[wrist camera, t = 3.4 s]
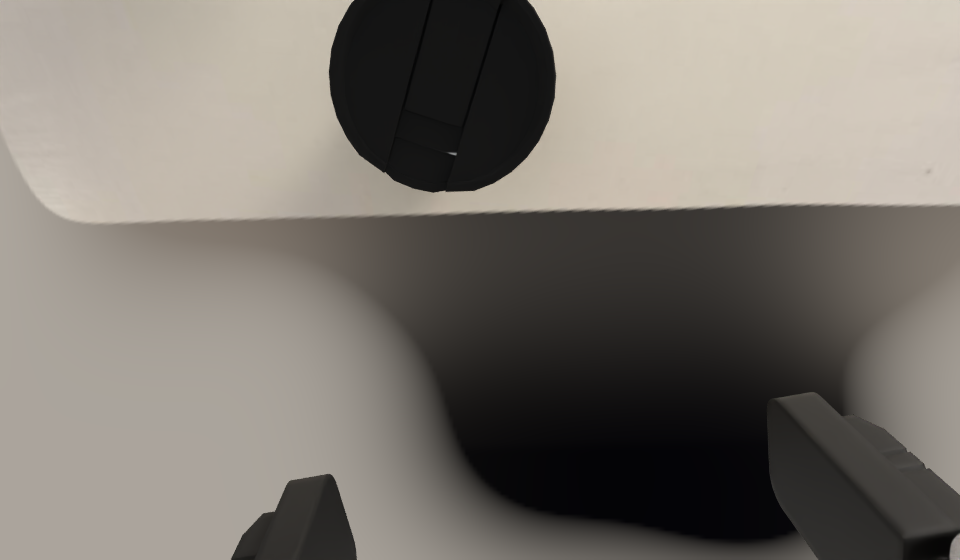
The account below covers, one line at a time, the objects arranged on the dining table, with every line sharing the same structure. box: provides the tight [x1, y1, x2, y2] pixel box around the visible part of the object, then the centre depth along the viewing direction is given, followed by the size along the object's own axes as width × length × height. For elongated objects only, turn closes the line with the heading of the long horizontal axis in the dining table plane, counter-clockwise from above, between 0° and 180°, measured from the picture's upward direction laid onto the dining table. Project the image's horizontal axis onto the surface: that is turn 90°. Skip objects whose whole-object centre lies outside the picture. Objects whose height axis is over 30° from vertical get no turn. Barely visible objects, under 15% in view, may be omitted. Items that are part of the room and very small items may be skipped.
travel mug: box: [329, 0, 556, 193], centre depth 26 cm, size 6×7×20 cm
